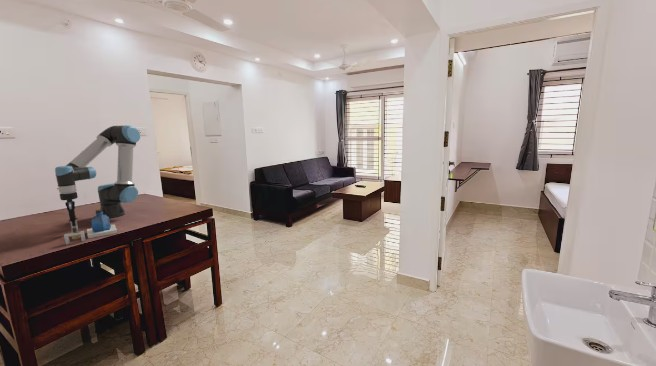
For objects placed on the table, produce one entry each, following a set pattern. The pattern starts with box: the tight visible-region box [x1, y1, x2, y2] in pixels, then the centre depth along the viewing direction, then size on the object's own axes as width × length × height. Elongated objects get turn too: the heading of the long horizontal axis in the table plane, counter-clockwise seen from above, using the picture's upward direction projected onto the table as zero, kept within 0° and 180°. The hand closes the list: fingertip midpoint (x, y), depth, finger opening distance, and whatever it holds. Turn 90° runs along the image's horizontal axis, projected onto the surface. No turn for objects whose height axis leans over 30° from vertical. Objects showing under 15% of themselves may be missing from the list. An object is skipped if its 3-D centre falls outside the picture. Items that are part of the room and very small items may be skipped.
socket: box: [86, 223, 118, 239], centre depth 169 cm, size 14×14×2 cm
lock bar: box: [71, 227, 80, 241], centre depth 162 cm, size 8×3×5 cm, turn 41°
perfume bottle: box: [90, 209, 112, 231], centre depth 168 cm, size 6×6×12 cm
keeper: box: [63, 230, 86, 246], centre depth 155 cm, size 2×8×5 cm, turn 131°
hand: (75, 230), depth 169 cm, fingers closed
